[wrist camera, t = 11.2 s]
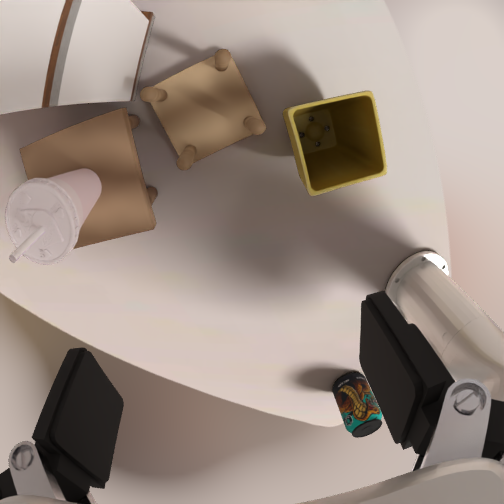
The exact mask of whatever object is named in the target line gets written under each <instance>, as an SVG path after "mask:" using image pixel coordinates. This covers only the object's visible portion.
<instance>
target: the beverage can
mask: <svg viewBox="0 0 504 504" xmlns="http://www.w3.org/2000/svg"><path fill="white" fill-rule="evenodd" d="M332 391H333V394H334V397H335V399H336V402H337V405H338V408H339V410H340V413H341V416H342V419H343V421H344V424H345V427H346V429H347V430H348V431H349V432H350V433H352V435H353V436H354V437H364V436H367V435H369V434H372V433H373V432H375V431H376V430H378V429H379V428H380V427H381V425H382V421H381V418H382V413H381V410H380V408H379V406H378V404H377V402H376V400H375V397H374V395H373V393H372V391H371V389H370V387H369V385H368V382H367V380H366V378H365V376H364V375H362V374H360V373H349V374H346V375H344V376H342V377H340V378H339V379H338V380H337V381H336V382H335V384H334V386H333V389H332Z"/></svg>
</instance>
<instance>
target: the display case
mask: <svg viewBox="0 0 504 504" xmlns="http://www.w3.org/2000/svg"><path fill="white" fill-rule="evenodd" d="M154 19H155V16H154V14H153V13H152V12H143V11H140V10H139V9H138V8H137V7H136V6H135V5H134V3H133V2H132V1H131V0H0V115H1V114H6V113H12V112H17V111H23V110H30V109H37V108H44V107H52V106H61V105H71V104H83V103H97V102H116V101H135V97H136V92H137V87H138V82H139V78H140V73H141V69H142V64H143V60H144V56H145V52H146V48H147V44H148V40H149V36H150V33H151V29H152V26H153V22H154Z"/></svg>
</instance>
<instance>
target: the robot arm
mask: <svg viewBox="0 0 504 504" xmlns="http://www.w3.org/2000/svg"><path fill="white" fill-rule="evenodd" d="M405 319H406V320H407V321H406V320H405ZM359 359H360V364H361V367H362V370H363V372H364V374H365V376H366V378H367V380H368V383H369V385H370V387H371V389H372V392H373V394H374V396H375V398H376V400H377V403H378V405H379V407H380V410H381V412H382V414H383V416H384V419H385V421H386V423H387V426H388V428H389V430H390V433H391V435H392V437H393V440H394V442H395V443H396V444H398V443H401V445H402V448H403V450H404V449H406V448H409V447H411V446H412V447H413V449H414V451H415V453H416V454H418V455H417V458H416V460H415V463H414V465H413V468H412V470H411V472H409V473H406V474H403V475H401V476H397V477H395V478H391V479H388V480H385V481H383V482H379V483H377V484H373V485H370V486H367V487H363V488H360V489H356V490H353V491H349V492H345V493H341V494H338V495H334V496H330V497H326V498H321V499H317V500H313V501H307V502H303V503H297V504H504V332H503V331H502V330H501V329H500V328H499V327H498V325H497V324H496V323H495V322H494V321H493V320H492V319H491V318H490V317H489V316H488V315H487V314H486V313H485V312H484V311H483V310H482V309H481V308H480V307H479V306H478V305H477V304H476V303H475V302H474V300H473V299H472V298H471V297H469V295H467V294H466V293H465V291H463V290H462V289H461V288H460V287H459V286H458V285H457V284H456V283H455V282H454V281H453V280H452V279H451V278H450V277H449V276H448V267H447V264H446V262H445V260H444V259H443V258H442V257H441V256H440V255H439V254H437V253H436V252H432V251H423V252H419V253H416V254H414V255H412V256H410V257H409V258H407V259H406V260H405V261H403V262H402V263H401V264H400V265H399V266H398V267H397V268H396V270H395V271H394V273H393V274H392V276H391V277H390V279H389V281H388V284H387V287H386V291H385V292H384V291H381V292H377V293H373V294H370V295H367V296H366V300H364V301H362V303H361V334H360V355H359ZM455 380H456V382H455ZM123 406H124V405H123V399H122V397H121V396H120V394H119V393H118V392H117V390H116V389H115V388H114V386H113V385H112V383H111V382H110V381H109V379H108V378H107V376H106V375H105V373H104V372H103V370H102V369H101V367H100V366H99V364H98V363H97V361H96V360H95V358H94V356H93V355H92V353H91V352H89V351H87V349H85V348H74V349H70V350H69V351H68V352H67V355H66V357H65V359H64V361H63V363H62V365H61V367H60V370H59V372H58V374H57V376H56V379H55V381H54V383H53V385H52V388H51V390H50V392H49V395H48V397H47V400H46V402H45V405H44V407H43V409H42V412H41V414H40V417H39V420H38V422H37V425H36V427H35V430H34V433H33V436H32V438H33V439H34V440H35V441H36V442H35V445H34V444H33V443H31V442H29V441H23V442H20V443H18V444H17V445H16V446H14V448H13V449H12V450H11V453H10V455H9V467H10V468H8V469H7V470H5V471H4V472H3V473H1V474H0V504H97V503H96V501H95V500H94V498H93V496H92V494H91V493H90V491H89V488H90V486H92V487H95V488H103V489H104V488H105V483H106V482H107V481H108V480H109V476H110V470H111V464H112V459H113V454H114V449H115V443H116V439H117V433H118V429H119V424H120V420H121V415H122V411H123Z"/></svg>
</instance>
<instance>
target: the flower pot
mask: <svg viewBox="0 0 504 504" xmlns="http://www.w3.org/2000/svg"><path fill="white" fill-rule="evenodd" d="M283 117H284V120H285V124H286V127H287V130H288V134H289V137H290V141H291V145H292V149H293V152H294V156H295V160H296V164H297V169H298V173H299V176H300V178H301V180H302V182H303V184H304V186H305V188H306V189H307V191H308V193H309V195H311V196H316V195H319V194H322V193H326V192H329V191H332V190H335V189H338V188H342V187H345V186H349V185H352V184H356V183H359V182H362V181H366V180H370V179H373V178H377V177H380V176H383V175H385V174H386V173H387V164H386V156H385V150H384V144H383V138H382V133H381V128H380V122H379V117H378V112H377V107H376V102H375V99H374V96H373V93H372V92H371V91H363V92H358V93H353V94H347V95H343V96H338V97H333V98H329V99H324V100H319V101H315V102H310V103H306V104H302V105H297V106H293V107H289V108H286V109H284V111H283ZM309 117H313V118H314V119H313V121H310V120H309ZM326 126H328V127H329V130H328V131H326V130H325V127H326ZM300 133H304V136H303V137H300ZM316 142H319V143H320V145H319V146H316V145H315V144H316Z"/></svg>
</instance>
